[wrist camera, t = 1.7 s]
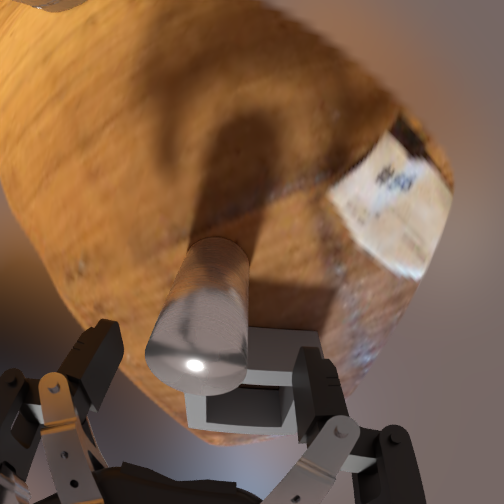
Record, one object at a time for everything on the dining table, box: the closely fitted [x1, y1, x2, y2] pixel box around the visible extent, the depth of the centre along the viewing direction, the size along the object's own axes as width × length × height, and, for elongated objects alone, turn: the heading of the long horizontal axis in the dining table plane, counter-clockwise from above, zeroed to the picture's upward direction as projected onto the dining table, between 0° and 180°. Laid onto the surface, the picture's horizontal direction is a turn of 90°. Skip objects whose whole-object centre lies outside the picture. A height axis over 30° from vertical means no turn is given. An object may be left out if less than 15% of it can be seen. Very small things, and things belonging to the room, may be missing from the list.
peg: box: [145, 237, 249, 396], centre depth 13 cm, size 4×4×8 cm
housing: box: [184, 327, 324, 435], centre depth 19 cm, size 9×9×4 cm
